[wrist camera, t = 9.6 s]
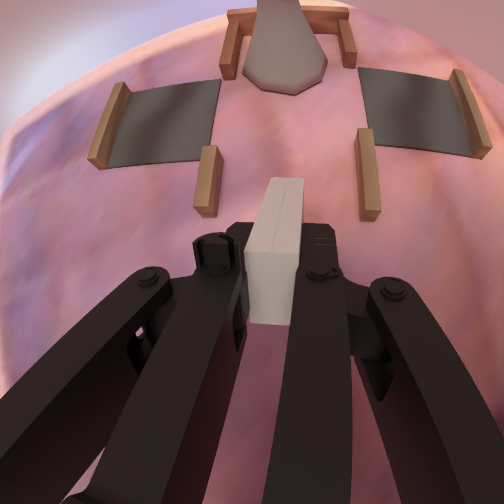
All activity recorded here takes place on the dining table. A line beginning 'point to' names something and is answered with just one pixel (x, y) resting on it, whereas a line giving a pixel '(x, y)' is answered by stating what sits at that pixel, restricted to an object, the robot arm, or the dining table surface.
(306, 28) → the flask
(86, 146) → the dining table surface
